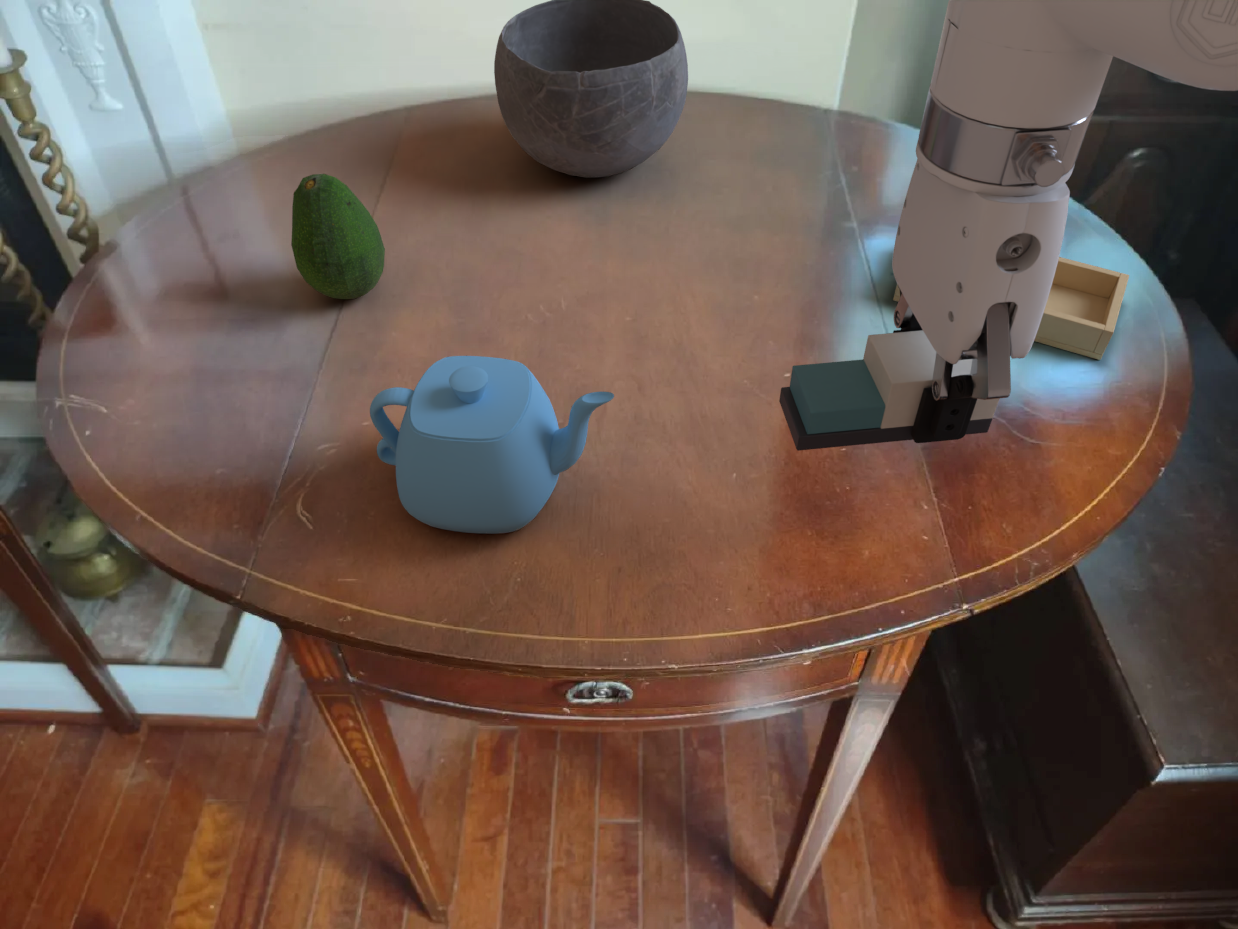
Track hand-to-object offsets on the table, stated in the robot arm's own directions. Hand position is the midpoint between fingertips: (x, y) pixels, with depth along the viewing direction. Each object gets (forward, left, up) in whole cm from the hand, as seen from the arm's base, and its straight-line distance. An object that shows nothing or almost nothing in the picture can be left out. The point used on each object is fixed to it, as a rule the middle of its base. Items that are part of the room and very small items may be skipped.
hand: (922, 405), depth 59 cm
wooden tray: (-2, -34, -13) cm, 36 cm away
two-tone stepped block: (+2, +1, -1) cm, 3 cm away
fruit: (+53, -6, -13) cm, 55 cm away
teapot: (+27, +8, -13) cm, 32 cm away
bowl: (+45, -39, -13) cm, 61 cm away
